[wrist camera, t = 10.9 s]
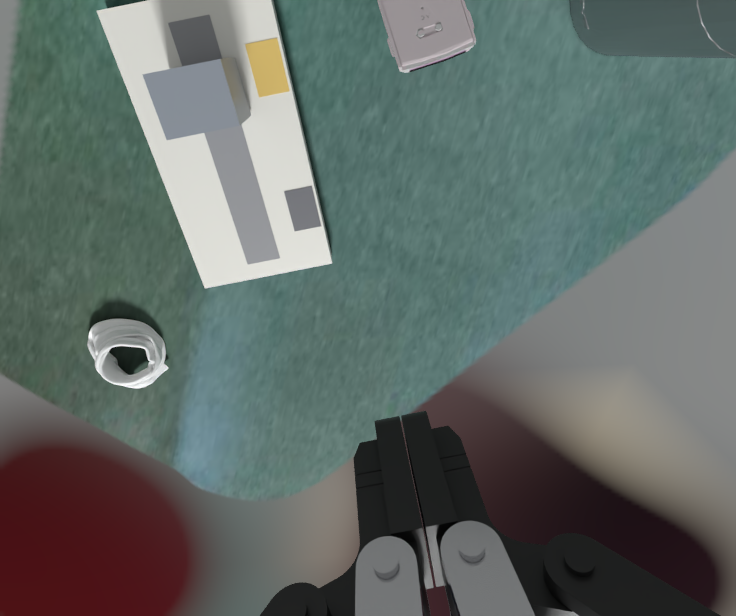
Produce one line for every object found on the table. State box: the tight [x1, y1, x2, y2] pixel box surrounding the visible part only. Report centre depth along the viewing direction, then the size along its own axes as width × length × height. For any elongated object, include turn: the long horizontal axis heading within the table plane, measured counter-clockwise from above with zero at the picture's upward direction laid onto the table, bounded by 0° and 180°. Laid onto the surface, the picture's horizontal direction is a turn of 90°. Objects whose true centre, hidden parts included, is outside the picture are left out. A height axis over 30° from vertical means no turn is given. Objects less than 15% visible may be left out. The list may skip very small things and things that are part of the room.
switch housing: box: [97, 0, 332, 288], centre depth 39 cm, size 12×22×2 cm, turn 10°
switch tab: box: [142, 58, 251, 140], centre depth 33 cm, size 5×4×6 cm
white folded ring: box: [87, 319, 168, 388], centre depth 46 cm, size 8×7×5 cm
